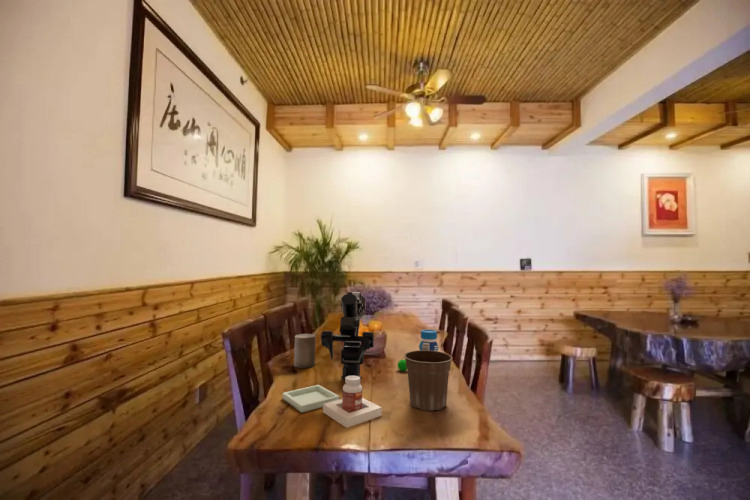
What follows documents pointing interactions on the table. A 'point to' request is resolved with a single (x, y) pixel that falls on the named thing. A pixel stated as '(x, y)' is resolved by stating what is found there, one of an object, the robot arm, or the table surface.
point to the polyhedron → (402, 365)
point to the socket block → (352, 418)
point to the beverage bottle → (428, 340)
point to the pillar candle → (304, 350)
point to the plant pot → (428, 378)
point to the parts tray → (309, 398)
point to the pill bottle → (352, 394)
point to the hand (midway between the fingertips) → (345, 359)
